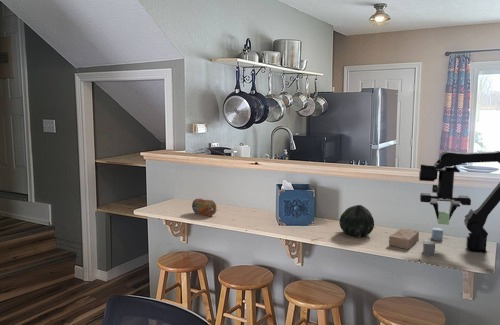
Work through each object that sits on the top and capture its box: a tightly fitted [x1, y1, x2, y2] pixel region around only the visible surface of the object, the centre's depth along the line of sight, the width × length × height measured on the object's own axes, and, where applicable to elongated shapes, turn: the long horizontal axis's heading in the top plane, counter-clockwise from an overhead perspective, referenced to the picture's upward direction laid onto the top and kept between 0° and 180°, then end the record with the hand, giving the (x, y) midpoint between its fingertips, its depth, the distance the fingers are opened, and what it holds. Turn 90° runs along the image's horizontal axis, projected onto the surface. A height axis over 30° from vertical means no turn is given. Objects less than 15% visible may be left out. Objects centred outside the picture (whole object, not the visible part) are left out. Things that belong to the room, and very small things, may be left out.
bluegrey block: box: [431, 227, 444, 241], centre depth 191 cm, size 4×4×4 cm
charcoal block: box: [422, 240, 436, 256], centre depth 173 cm, size 4×4×4 cm
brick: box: [388, 227, 420, 250], centre depth 186 cm, size 17×8×5 cm, turn 145°
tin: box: [191, 198, 217, 217], centre depth 229 cm, size 15×3×8 cm, turn 55°
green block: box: [436, 210, 450, 226], centre depth 180 cm, size 4×4×4 cm
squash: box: [338, 204, 375, 238], centre depth 196 cm, size 14×15×15 cm
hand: (443, 219), depth 180 cm, fingers closed on green block, 4 cm apart
